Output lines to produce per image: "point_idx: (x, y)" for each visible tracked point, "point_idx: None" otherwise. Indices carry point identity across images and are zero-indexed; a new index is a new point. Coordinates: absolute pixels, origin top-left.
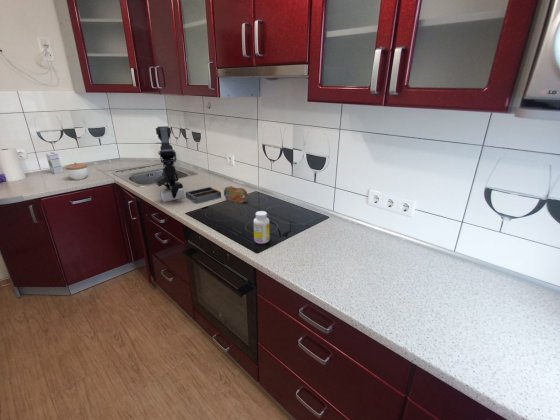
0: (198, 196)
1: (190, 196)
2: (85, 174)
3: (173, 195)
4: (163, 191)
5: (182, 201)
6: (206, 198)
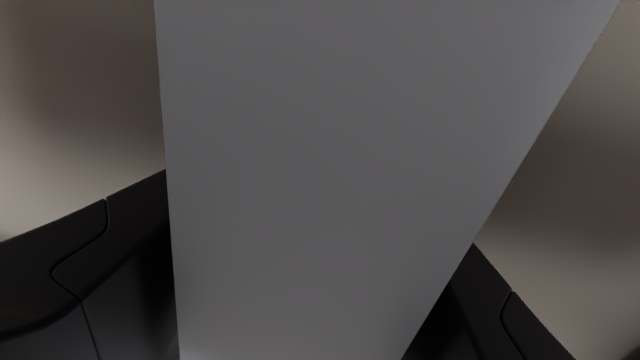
0: None
1: None
2: None
3: None
4: (536, 67)
5: (71, 163)
6: None
